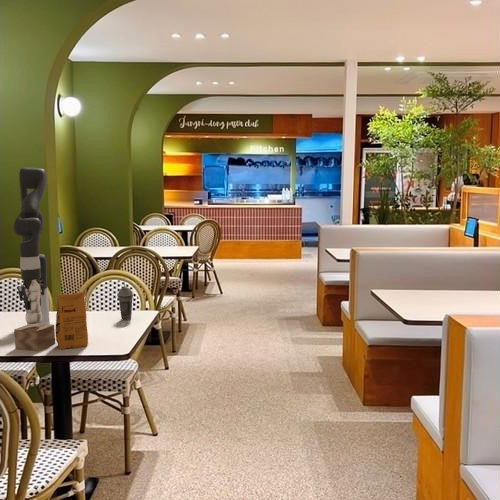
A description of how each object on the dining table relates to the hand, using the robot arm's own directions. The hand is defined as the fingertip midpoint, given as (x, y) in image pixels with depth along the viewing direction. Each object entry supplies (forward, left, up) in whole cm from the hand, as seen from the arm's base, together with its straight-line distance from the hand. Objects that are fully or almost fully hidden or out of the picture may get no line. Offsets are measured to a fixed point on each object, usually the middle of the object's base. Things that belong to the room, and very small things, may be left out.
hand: (33, 308), depth 245 cm
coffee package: (+15, +5, -16) cm, 22 cm away
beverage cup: (+12, +51, -16) cm, 55 cm away
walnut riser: (0, 0, -16) cm, 16 cm away
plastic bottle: (0, 0, -7) cm, 7 cm away
